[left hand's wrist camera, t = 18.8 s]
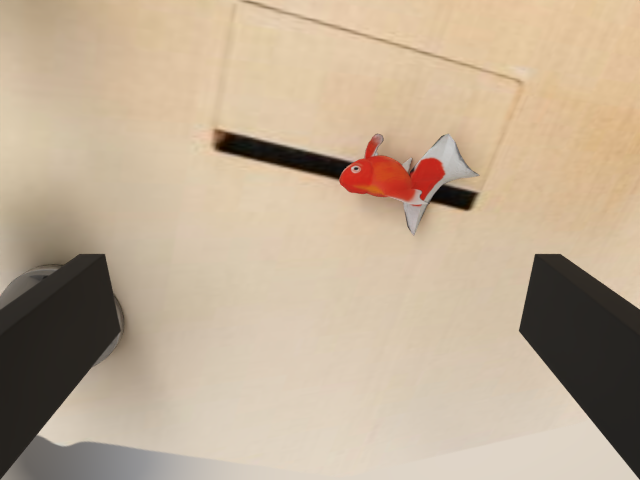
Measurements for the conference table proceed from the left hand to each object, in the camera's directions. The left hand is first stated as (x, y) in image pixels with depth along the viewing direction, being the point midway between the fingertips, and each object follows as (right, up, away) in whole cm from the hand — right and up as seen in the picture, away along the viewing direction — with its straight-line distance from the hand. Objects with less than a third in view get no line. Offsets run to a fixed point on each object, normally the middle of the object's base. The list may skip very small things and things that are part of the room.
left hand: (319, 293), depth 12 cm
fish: (+10, +10, +35) cm, 38 cm away
